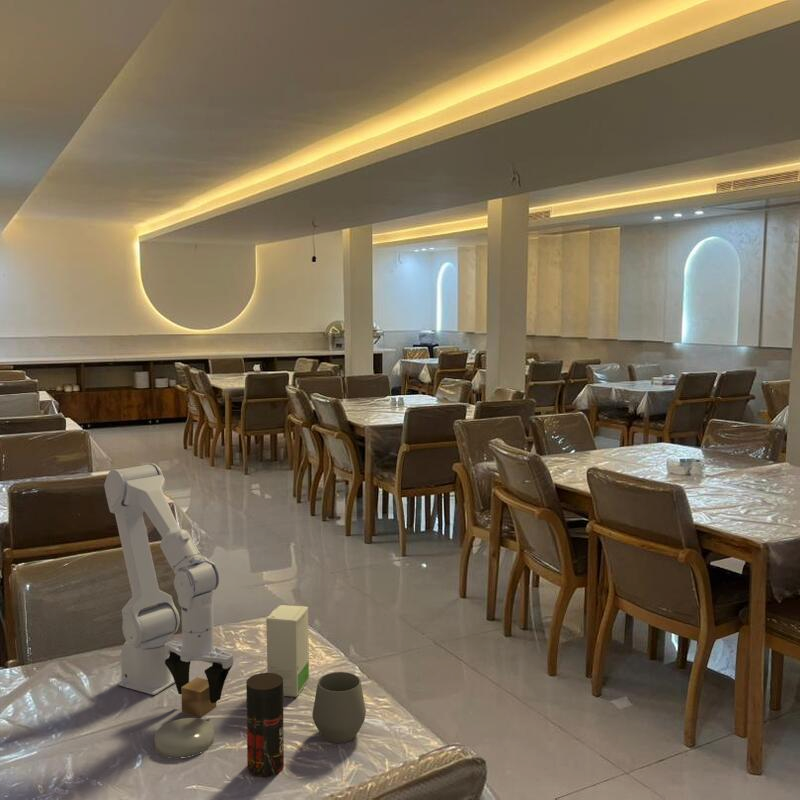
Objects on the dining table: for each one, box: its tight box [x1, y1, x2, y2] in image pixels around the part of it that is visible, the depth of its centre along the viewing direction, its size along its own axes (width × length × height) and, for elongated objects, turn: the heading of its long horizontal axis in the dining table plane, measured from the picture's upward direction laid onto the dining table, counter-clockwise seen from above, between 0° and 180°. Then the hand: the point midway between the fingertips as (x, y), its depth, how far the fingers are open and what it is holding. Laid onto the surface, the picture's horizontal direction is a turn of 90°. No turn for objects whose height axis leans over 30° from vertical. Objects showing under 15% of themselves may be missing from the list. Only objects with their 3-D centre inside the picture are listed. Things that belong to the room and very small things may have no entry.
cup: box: [311, 671, 367, 744], centre depth 139 cm, size 10×9×10 cm
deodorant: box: [245, 672, 285, 779], centre depth 129 cm, size 6×6×15 cm
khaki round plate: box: [154, 717, 215, 759], centre depth 137 cm, size 10×10×2 cm
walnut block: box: [180, 677, 218, 719], centre depth 148 cm, size 4×4×5 cm
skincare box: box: [265, 604, 310, 698], centre depth 157 cm, size 8×7×16 cm
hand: (199, 696), depth 148 cm, fingers open, 7 cm apart
